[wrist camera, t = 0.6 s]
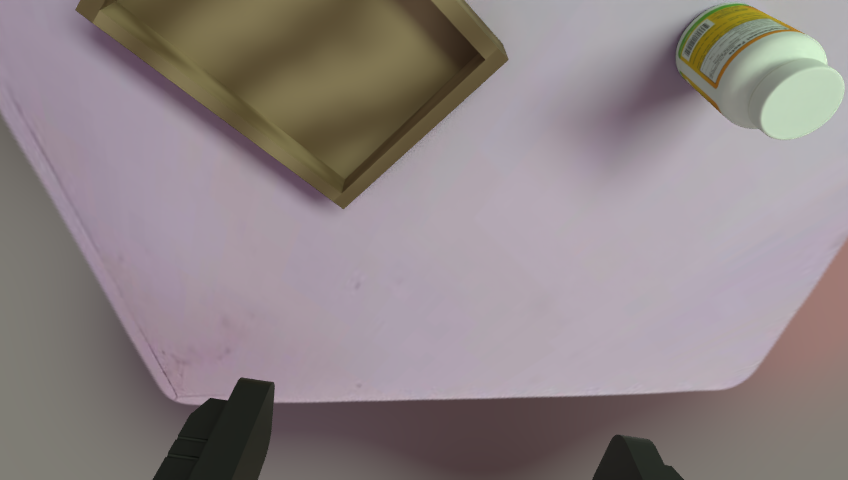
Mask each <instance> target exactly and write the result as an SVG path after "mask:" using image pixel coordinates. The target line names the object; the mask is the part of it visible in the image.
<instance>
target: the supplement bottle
mask: <svg viewBox="0 0 848 480" xmlns="http://www.w3.org/2000/svg"><path fill="white" fill-rule="evenodd" d="M676 65H677V69H678V71H679V73H680V74H681V76H682V77H683V78H684V79H685V80H686V81H687V82H688V83H689V84H690V85H691V86H692V87H693V88H695V89H696V90H697V91H698V92H699V93H700V94H701V95H702V96H703V97H704V98H705V99H706V100H707V101H708V102H710V103H711V104H712V105H713V106H714V107H715V108H716V109H717V110H718V111H719V112H720V113H721V114H722V115H723V116H724V117H726V118H727V119H728V120H729V121H731V122H732V123H734V124H736V125H738V126H740V127H744V128H749V129H760V130H761V131H762V132H763V133H765V134H766V135H767V136H769V137H771V138H774V139H779V140H790V139H795V138H799V137H802V136H805V135H807V134H809V133H811V132H813V131H815V130H816V129H818V128H819V127H820V126H822V125H823V124H824V123H825V122H827V121H828V120H829V119H830V118H831V116H832V115H833V114H834V113H835V111H836V110H837V109H838V107H839V105H840V103H841V101H842V99H843V95H844V81H843V79H842V77H841V75H840V74H839V73H838V72H837V71H836V70H834V69H833V68H831V67H829V66H828V65H827V58H826V54H825V52H824V50H823V48H822V47H821V45H820V44H819V43H818V42H817V41H816V40H814V39H813V38H811V37H810V36H808V35H806V34H804V33H802V32H800V31H798V30H796V29H794V28H793V27H791V26H789V25H787V24H785V23H783V22H781V21H779V20H777V19H775V18H773V17H771V16H769V15H767V14H765V13H763V12H761V11H759V10H757V9H756V8H754V7H751V6H749V5H746V4H743V3H735V2H732V3H724V4H720V5H717V6H714V7H712V8H710V9H708V10H706V11H705V12H703V13H702V14H700V15H699V16H698V17H697V18H696V19H695V20H694V21H693V22H692V23H691V24H690V25H689V26H688V27H687V28H686V30H685V31H684V33H683V34H682V36H681V38H680V40H679V42H678V45H677V49H676Z"/></svg>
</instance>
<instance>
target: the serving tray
mask: <svg viewBox="0 0 848 480" xmlns="http://www.w3.org/2000/svg"><path fill="white" fill-rule="evenodd" d="M76 11H77V12H79V13H80V14H81V15H83V16H84V17H85V18H87V19H88V20H89V21H91V22H92V23H93V24H95V25H96V26H97V27H99V28H100V29H101V30H103V31H104V32H105V33H107V34H108V35H109V36H111V37H112V38H114V39H115V40H116V41H118V42H119V43H120V44H122V45H123V46H124V47H126V48H127V49H128V50H130V51H131V52H132V53H134V54H135V55H136V56H138V57H139V58H140V59H142V60H143V61H145V62H146V63H147V64H149V65H150V66H151V67H153V68H154V69H155V70H157V71H158V72H159V73H161V74H162V75H163V76H165V77H166V78H167V79H169V80H170V81H171V82H173V83H174V84H175V85H177V86H178V87H180V88H181V89H182V90H184V91H185V92H186V93H188V94H189V95H190V96H192V97H193V98H194V99H196V100H197V101H198V102H200V103H201V104H202V105H204V106H205V107H206V108H208V109H209V110H210V111H212V112H213V113H215V114H216V115H217V116H219V117H220V118H221V119H223V120H224V121H225V122H227V123H228V124H229V125H231V126H232V127H233V128H235V129H236V130H237V131H239V132H240V133H241V134H243V135H244V136H246V137H247V138H248V139H250V140H251V141H252V142H254V143H255V144H256V145H258V146H259V147H260V148H262V149H263V150H264V151H266V152H267V153H268V154H270V155H271V156H272V157H274V158H275V159H276V160H278V161H279V162H281V163H282V164H283V165H285V166H286V167H287V168H289V169H290V170H291V171H293V172H294V173H295V174H297V175H298V176H299V177H301V178H302V179H303V180H305V181H306V182H307V183H309V184H310V185H312V186H313V187H314V188H316V189H317V190H318V191H320V192H321V193H322V194H324V195H325V196H326V197H328V198H329V199H330V200H332V201H333V202H334V203H336V204H337V205H338V206H340V207H341V208H342V209H344V208H345V207H347V206H348V205H349V204H350V203H351V202H352V201H353V200H354V199H355V198H356V197H358V196H359V195H360V194H361V193H362V192H363V191H364V190H365V189H366V188H368V187H369V186H370V185H371V184H372V183H373V182H374V181H375V180H376V179H377V178H379V177H380V176H381V175H382V174H383V173H384V172H385V171H386V170H387V169H388V168H390V167H391V166H392V165H393V164H394V163H395V162H396V161H397V160H398V159H400V158H401V157H402V156H403V155H404V154H405V153H406V152H407V151H408V150H409V149H411V148H412V147H413V146H414V145H415V144H416V143H417V142H418V141H419V140H421V139H422V138H423V137H424V136H425V135H426V134H427V133H428V132H429V131H430V130H432V129H433V128H434V127H435V126H436V125H437V124H438V123H439V122H440V121H442V120H443V119H444V118H445V117H446V116H447V115H448V114H449V113H450V112H451V111H453V110H454V109H455V108H456V107H457V106H458V105H459V104H460V103H461V102H463V101H464V100H465V99H466V98H467V97H468V96H469V95H470V94H471V93H472V92H474V91H475V90H476V89H477V88H478V87H479V86H480V85H481V84H482V83H483V82H485V81H486V80H487V79H488V78H489V77H490V76H491V75H492V74H493V73H495V72H496V71H497V70H498V69H499V68H500V67H501V66H502V65H503V64H504V63H506V62H507V61H508V57H507V54H506V52H505V49H504V46H503V44H502V43H501V42H500V40H499V39H498V38H497V37H496V36H495V35H494V34H493V32H492V31H491V30H490V29H489V28H488V27H487V26H486V24H485V23H484V22H483V21H482V20H481V19H480V18H479V16H478V15H477V14H476V13H475V12H474V11H473V10H472V8H471V7H470V6H469V5H468V4H467V3H466V2H465V1H464V0H80V2H79V4H78V6H77V8H76Z"/></svg>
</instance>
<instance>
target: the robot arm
mask: <svg viewBox="0 0 848 480" xmlns="http://www.w3.org/2000/svg"><path fill="white" fill-rule="evenodd" d="M274 389H275V385H274V382H268V381H262V380H255V379H248V378H240V379H239V380H238V382H237V384H236V386H235V388H234V390H233V392H232V394H231V396H230V398H229V400H228V401H227V400H221V399H214V398H210V399H208V400H207V401H206V402H205V403H204V404H202V405H201V406H200V407H199V408H198V409H196V410H195V411H194V412H193V413H191V415H190V416H189V417H188V419H187V421H186V423H185V424H184V426H183V428H182V430H181V432H180V433H179V435H178V438H177V440H175V442H174V443H173V445H172V447H171V449H170V450H169V452H168V456H167V457H165V459H164V461H163V463H162V464H161V466H160V468H159V469H158V471H157V473H156V475H155V476H154V478H153V480H258V477H259V474H260V471H261V469H262V466H263V463H264V460H265V457H266V454H267V450H268V446H269V442H270V436H271V429H272V416H273V403H274ZM593 480H684V479H683V478H682V477H681V476H680V475H679V474H678V473H677V472H676V470H675V469H674V468H673V467H672V466H667V465H664V463H663V461H662V459H661V457H660V455H659V453H658V451H657V449H656V447H655V445H654V444H653V442H651V441H650V440H648V439H644V438H637V437H631V436H624V435H615V436H614V437H613V438H612V440H611V441H610V443H609V446H608V448H607V450H606V452H605V454H604V456H603V458H602V460H601V462H600V464H599V466H598V468H597V470H596V472H595V474H594V477H593Z"/></svg>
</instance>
